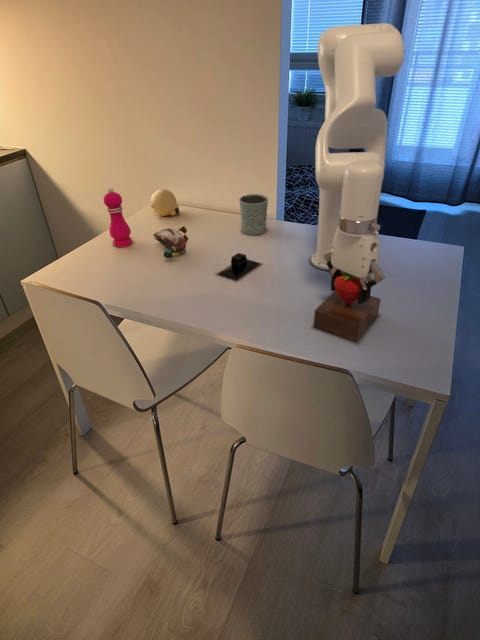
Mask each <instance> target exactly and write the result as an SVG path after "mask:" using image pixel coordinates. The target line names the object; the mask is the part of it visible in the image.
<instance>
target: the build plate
mask: <svg viewBox="0 0 480 640" xmlns="http://www.w3.org/2000/svg"><path fill="white" fill-rule="evenodd" d="M260 265H261V263H260V262H256V261H253V260H249V259H248V257H247V255H246V254H244V253H241V252H238V253H236V254H233V255H232V256H231V260H230V265H229V266H228V267H226V268H225V269H223V270H221V271H220V272H218V274H217V275H218V276H221V277H223V278H226V279H229V280H232V281H238V280H240V279H241V278H243V277H244V276H246V275H247V274H249V273H250V272H251V271H253V270H254V269H256V268H257V267H259V266H260Z"/></svg>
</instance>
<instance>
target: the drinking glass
mask: <svg viewBox="0 0 480 640" xmlns="http://www.w3.org/2000/svg"><path fill="white" fill-rule="evenodd" d="M238 200H239V208H240V209H239V210H240V220H241V231H242V233H243V234H245V235H248V236H259V235H262V234H265V232H266V229H267V215H268V213H267V212H268V203H269V198H268V197H267V196H266V195H263V194H258V193H253V194H252V193H251V194H245V195H242V196H240V197H239V199H238Z"/></svg>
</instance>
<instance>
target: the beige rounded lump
mask: <svg viewBox="0 0 480 640" xmlns="http://www.w3.org/2000/svg"><path fill="white" fill-rule="evenodd" d="M149 204H150V207H151V209H153V211H154V212H155V213H156V214H157V217H158V218H161V217H167V216H171V217H172V216H173V217H174V216H177V215H178V214H179V213H180V205H179V204H178V202H177V199H176V196H175V194H174V193H173V192H172V191H170V190H169V189H167V188H160V189H158V190H156V191H154V192H153V193H152V195H151V197H150V200H149Z"/></svg>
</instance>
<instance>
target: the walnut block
mask: <svg viewBox="0 0 480 640" xmlns="http://www.w3.org/2000/svg"><path fill="white" fill-rule="evenodd" d="M381 301H382V300H381V298H379V297H377V296H372V295H370V298H369V300H367V301H366V302H364V303H362V304H359V303H358V300H356V301H354V302H353V303H352V304H346V303H345V302H344V301H343V300H342V299H341V298H340V296H339V295H338V293H337V292H336V290H335V291H332V293H331V294H330V295H328V297H327V298H326V299H325V300H324V301H322V303H321V304H319V306H318V307H317V308H315V309H314V317H313V318H314V319H313V328H314V329H317V330H320V331H322V332H325V333H328V334H331V335H334V336H337V337H340V338H342V339H345V340H349V341H351V342H354V343H358V341H359V340H360V339H361V337H362V336H363V335H365V333H366V331H367V330H369V329H368V328H369V327H370V326H371V325H372V323H374V321H375V320H376V319H377V317H378V316H379V310H380V305H381Z"/></svg>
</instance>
